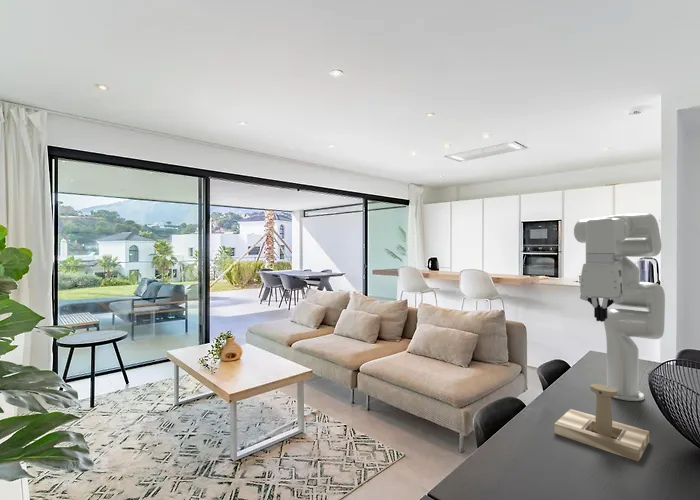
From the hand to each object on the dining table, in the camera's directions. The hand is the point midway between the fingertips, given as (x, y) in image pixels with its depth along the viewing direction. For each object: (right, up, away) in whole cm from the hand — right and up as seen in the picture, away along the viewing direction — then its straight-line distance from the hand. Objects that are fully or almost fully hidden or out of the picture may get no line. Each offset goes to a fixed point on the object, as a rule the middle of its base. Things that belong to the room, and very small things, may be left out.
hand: (600, 320), depth 111 cm
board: (-3, -33, -4) cm, 33 cm away
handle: (-2, -33, -5) cm, 34 cm away
